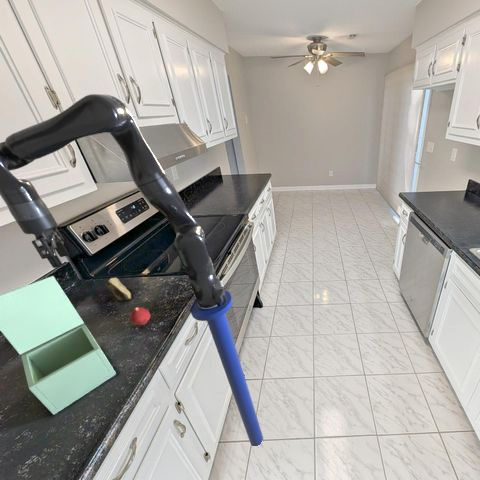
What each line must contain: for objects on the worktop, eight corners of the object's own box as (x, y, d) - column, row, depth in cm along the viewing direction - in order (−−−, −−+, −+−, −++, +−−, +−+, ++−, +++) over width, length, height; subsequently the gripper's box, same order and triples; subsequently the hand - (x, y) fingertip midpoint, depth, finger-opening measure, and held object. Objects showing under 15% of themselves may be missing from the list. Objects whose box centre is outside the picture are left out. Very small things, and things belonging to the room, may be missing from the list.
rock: (112, 285, 112) (97, 296, 103) (119, 269, 111) (105, 280, 102) (137, 294, 116) (126, 306, 106) (145, 279, 114) (134, 290, 105)
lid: (53, 276, 73) (53, 275, 73) (-22, 303, 63) (-22, 302, 64) (84, 323, 79) (83, 322, 79) (19, 354, 69) (19, 353, 69)
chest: (116, 374, 75) (99, 348, 70) (53, 415, 65) (28, 388, 60) (100, 348, 84) (84, 323, 79) (43, 380, 74) (20, 355, 69)
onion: (134, 323, 93) (125, 307, 90) (151, 316, 96) (143, 299, 93) (136, 332, 89) (127, 315, 86) (154, 324, 92) (146, 307, 89)
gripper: (42, 218, 72) (71, 266, 79) (55, 206, 83) (80, 249, 90) (5, 226, 69) (39, 275, 76) (24, 211, 79) (52, 256, 87)
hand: (61, 261), depth 83 cm, fingers open, 8 cm apart
